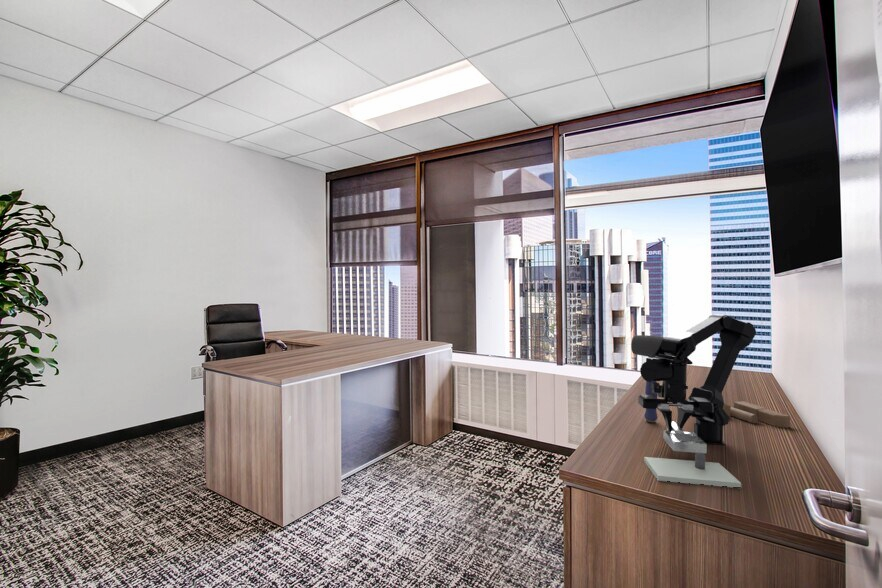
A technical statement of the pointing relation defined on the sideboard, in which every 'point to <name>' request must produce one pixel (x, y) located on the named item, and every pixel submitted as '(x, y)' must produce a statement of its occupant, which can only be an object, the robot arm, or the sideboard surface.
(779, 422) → the wooden block set
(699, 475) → the keeper board
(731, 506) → the sideboard surface
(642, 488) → the sideboard surface
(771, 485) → the sideboard surface
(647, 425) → the sideboard surface
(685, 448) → the steel link
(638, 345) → the rubber mallet
